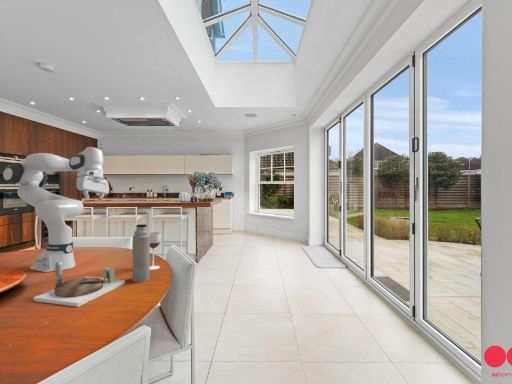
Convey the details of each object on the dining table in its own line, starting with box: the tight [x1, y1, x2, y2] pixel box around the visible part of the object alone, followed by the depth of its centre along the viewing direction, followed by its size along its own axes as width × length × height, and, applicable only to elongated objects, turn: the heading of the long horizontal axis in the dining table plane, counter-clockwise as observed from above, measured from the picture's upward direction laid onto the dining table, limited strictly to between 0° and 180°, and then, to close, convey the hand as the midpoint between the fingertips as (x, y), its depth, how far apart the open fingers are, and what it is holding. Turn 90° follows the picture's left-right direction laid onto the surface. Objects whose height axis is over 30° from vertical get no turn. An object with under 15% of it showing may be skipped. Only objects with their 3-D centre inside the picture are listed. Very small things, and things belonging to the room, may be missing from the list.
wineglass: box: [148, 231, 162, 271], centre depth 161 cm, size 8×9×20 cm
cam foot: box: [54, 262, 108, 297], centre depth 122 cm, size 20×18×12 cm
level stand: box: [33, 266, 126, 308], centre depth 123 cm, size 22×27×8 cm
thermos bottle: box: [131, 224, 151, 283], centre depth 140 cm, size 8×8×28 cm
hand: (93, 200), depth 151 cm, fingers open, 8 cm apart
